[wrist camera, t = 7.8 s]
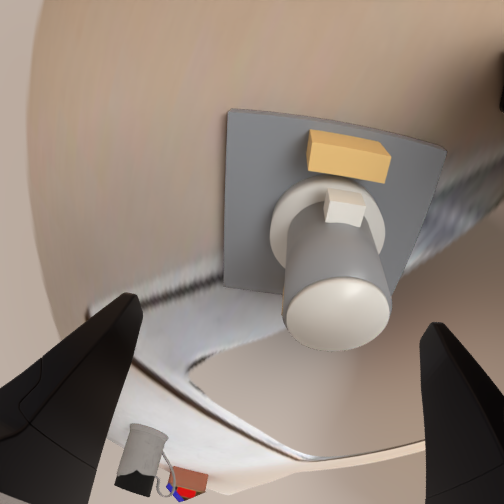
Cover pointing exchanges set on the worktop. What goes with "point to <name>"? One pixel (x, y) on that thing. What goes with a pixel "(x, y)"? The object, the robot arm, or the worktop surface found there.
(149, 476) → the glass holder
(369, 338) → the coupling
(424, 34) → the worktop surface
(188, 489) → the house
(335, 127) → the board
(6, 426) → the robot arm
